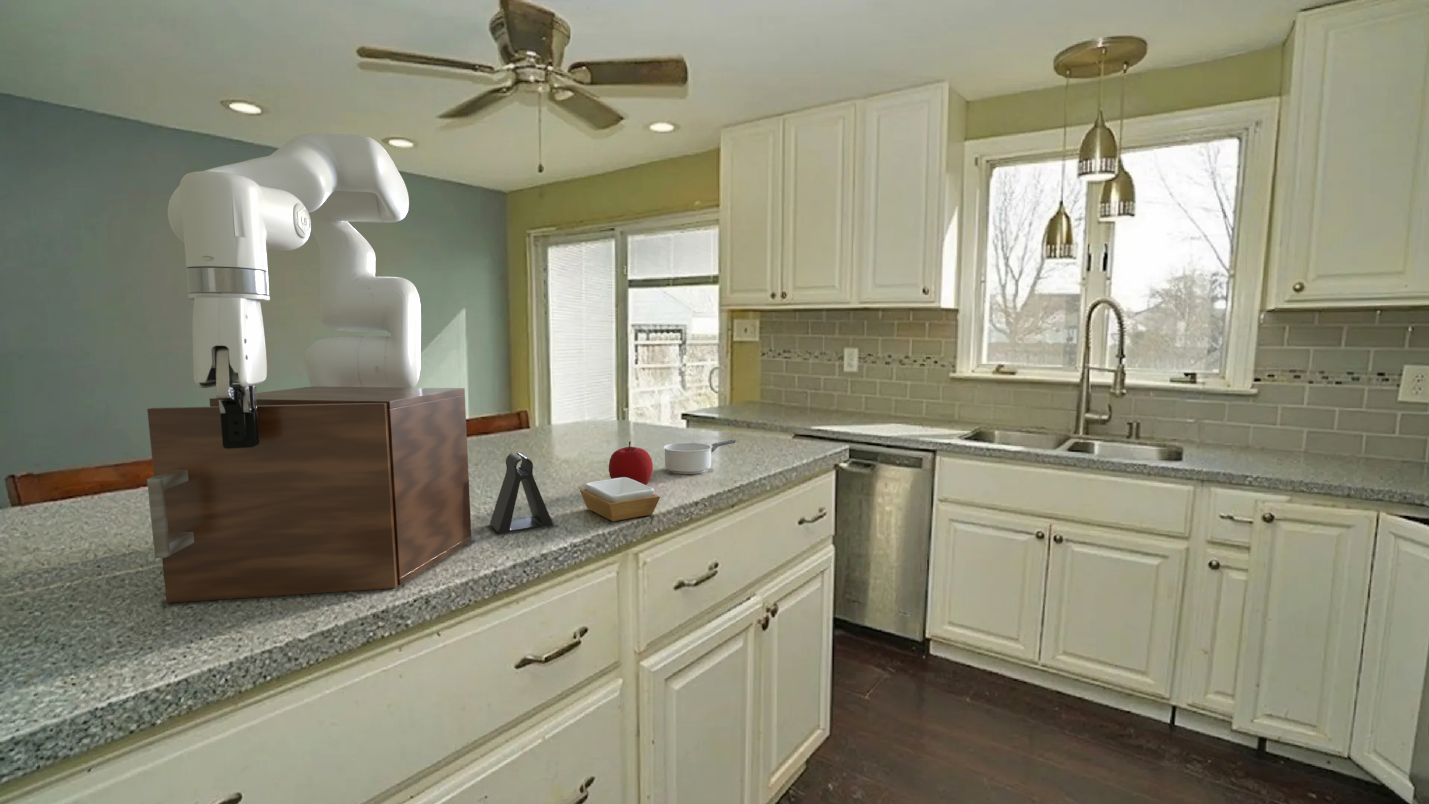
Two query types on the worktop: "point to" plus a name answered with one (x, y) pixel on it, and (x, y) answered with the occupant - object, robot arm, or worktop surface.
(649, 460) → the apple
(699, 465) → the saucepan
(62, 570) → the worktop surface
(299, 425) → the cupboard door
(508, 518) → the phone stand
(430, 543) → the cupboard
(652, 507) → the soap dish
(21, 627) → the worktop surface
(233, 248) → the robot arm
